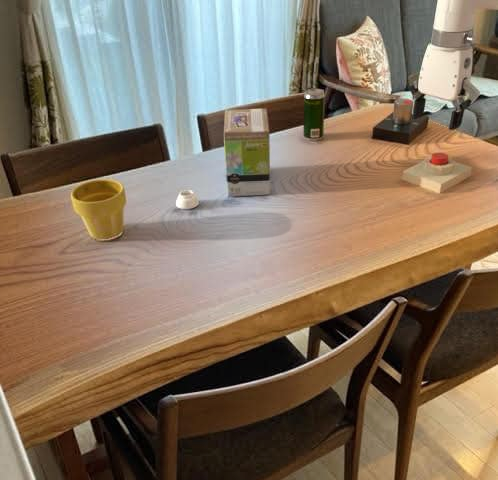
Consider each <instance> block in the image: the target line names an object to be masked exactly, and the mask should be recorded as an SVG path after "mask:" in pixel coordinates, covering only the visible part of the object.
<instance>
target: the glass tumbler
mask: <svg viewBox="0 0 498 480" xmlns="http://www.w3.org/2000/svg"><path fill="white" fill-rule="evenodd" d="M413 108H414V100H413V99H410V98H398V99H395V100H394V103H393V110H392V112H393V119H392V122H393V123H395V124H398V125H406V124H409V123H411V117H412V114H413Z"/></svg>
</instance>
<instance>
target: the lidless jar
mask: <svg viewBox="0 0 498 480" xmlns="http://www.w3.org/2000/svg"><path fill="white" fill-rule="evenodd" d="M199 204H200V200H199V198H198V196H197V195H196V194H195V193H194V191H193V190H191V189H184V190H181V191H179V193H178V196H177V198H176V201H175V206H176V207H177V208H178V209H181V210H191V209H194V208H196V207H197V206H199Z"/></svg>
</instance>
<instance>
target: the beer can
mask: <svg viewBox="0 0 498 480" xmlns="http://www.w3.org/2000/svg"><path fill="white" fill-rule="evenodd" d="M325 104H326V94H325V91H324V89H321V88H309V89H306V90H305V91H304V95H303V134H302V135H303V138H304V139H305V140H306V141H308V142H309V141H310V142H318V141H321V140H322V139H323V137H324V131H325V130H324V129H325V106H326V105H325Z"/></svg>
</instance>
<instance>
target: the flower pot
mask: <svg viewBox="0 0 498 480" xmlns="http://www.w3.org/2000/svg"><path fill="white" fill-rule="evenodd" d="M70 199H71V204H72V206H73V209H74V211H75V212H76V214H77V215H79V216H80V218H81V220H82V222H83V224H84V226H85V228H86V230H87V231H88V233H89V235H90V237H91V236H92V237H94V238H97V239H109V238H112V237H115V236H118V235H119V234H120V233H121V232H122V231H123V232H122V234H121V235H120V236H118V237H116V238H114V239H111V240H104V241H103V242H110V241H115V240H117V239H118V238H120V237H121V236H122V235H123V233H124V211H125V210H124V209H125V207H126V204H127V196H126V191H125V187H124V185H123V183H121V182H120V181H118V180H115V179H110V178H97V179H92V180H88V181H84V182H82V183H79V184H78V185H76V186H75V187H74V188H73V189H72V190H71V192H70ZM92 237H91V238H92ZM93 240H94V241H97V242H102V241H101V240H95V239H93Z"/></svg>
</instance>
